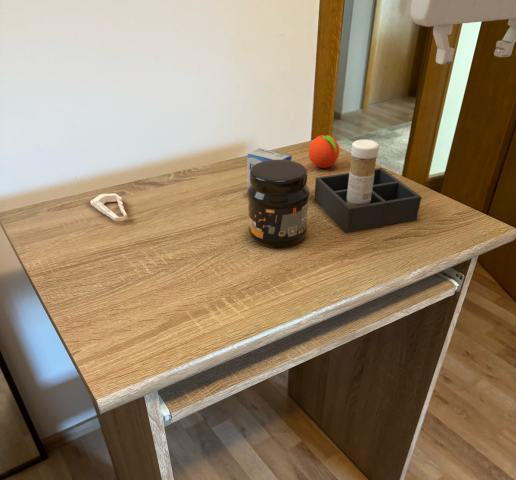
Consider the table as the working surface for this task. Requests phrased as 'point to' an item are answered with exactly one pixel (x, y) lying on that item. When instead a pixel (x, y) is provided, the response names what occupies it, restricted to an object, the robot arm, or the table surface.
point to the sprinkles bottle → (361, 172)
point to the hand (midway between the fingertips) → (473, 59)
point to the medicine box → (263, 158)
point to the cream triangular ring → (99, 205)
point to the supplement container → (278, 203)
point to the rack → (370, 215)
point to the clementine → (323, 151)
